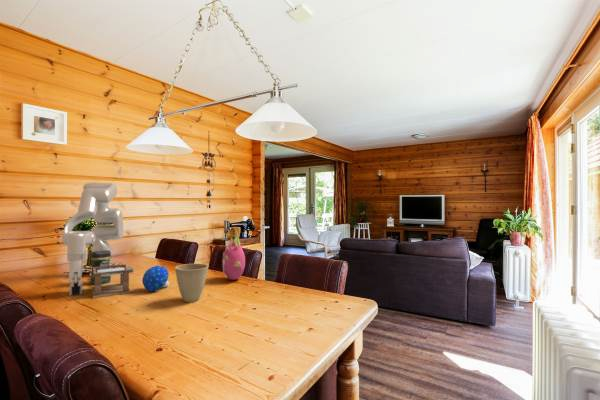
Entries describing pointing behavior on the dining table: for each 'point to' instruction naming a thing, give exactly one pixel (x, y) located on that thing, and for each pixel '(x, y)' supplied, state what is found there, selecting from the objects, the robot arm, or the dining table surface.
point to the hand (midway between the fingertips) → (76, 292)
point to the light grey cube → (72, 286)
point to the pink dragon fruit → (233, 259)
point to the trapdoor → (115, 270)
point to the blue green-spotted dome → (155, 278)
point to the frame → (111, 289)
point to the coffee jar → (100, 264)
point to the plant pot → (191, 280)
